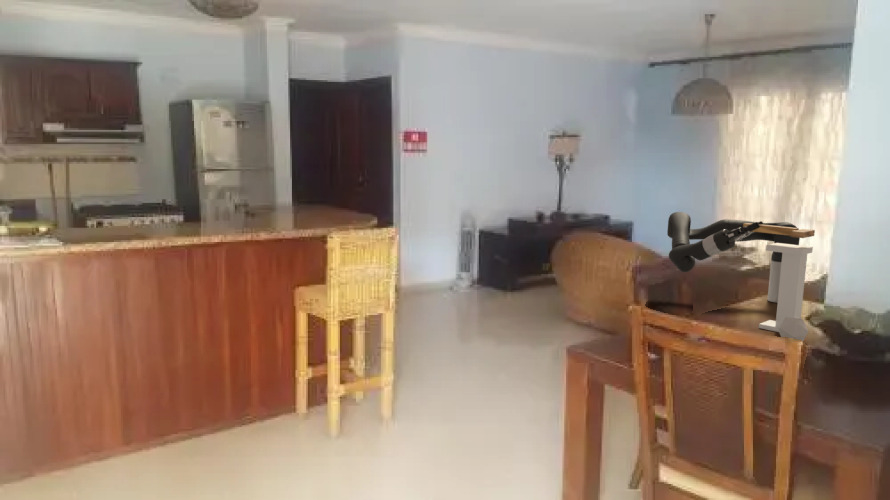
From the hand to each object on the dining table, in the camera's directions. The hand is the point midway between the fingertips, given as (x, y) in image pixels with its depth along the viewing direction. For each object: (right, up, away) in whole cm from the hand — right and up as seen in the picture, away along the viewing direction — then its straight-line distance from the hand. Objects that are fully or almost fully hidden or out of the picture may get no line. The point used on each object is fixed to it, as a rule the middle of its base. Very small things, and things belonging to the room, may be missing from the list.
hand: (760, 224), depth 244 cm
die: (+2, -40, -18) cm, 44 cm away
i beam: (+6, -38, -2) cm, 38 cm away
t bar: (+4, -4, -4) cm, 7 cm away
